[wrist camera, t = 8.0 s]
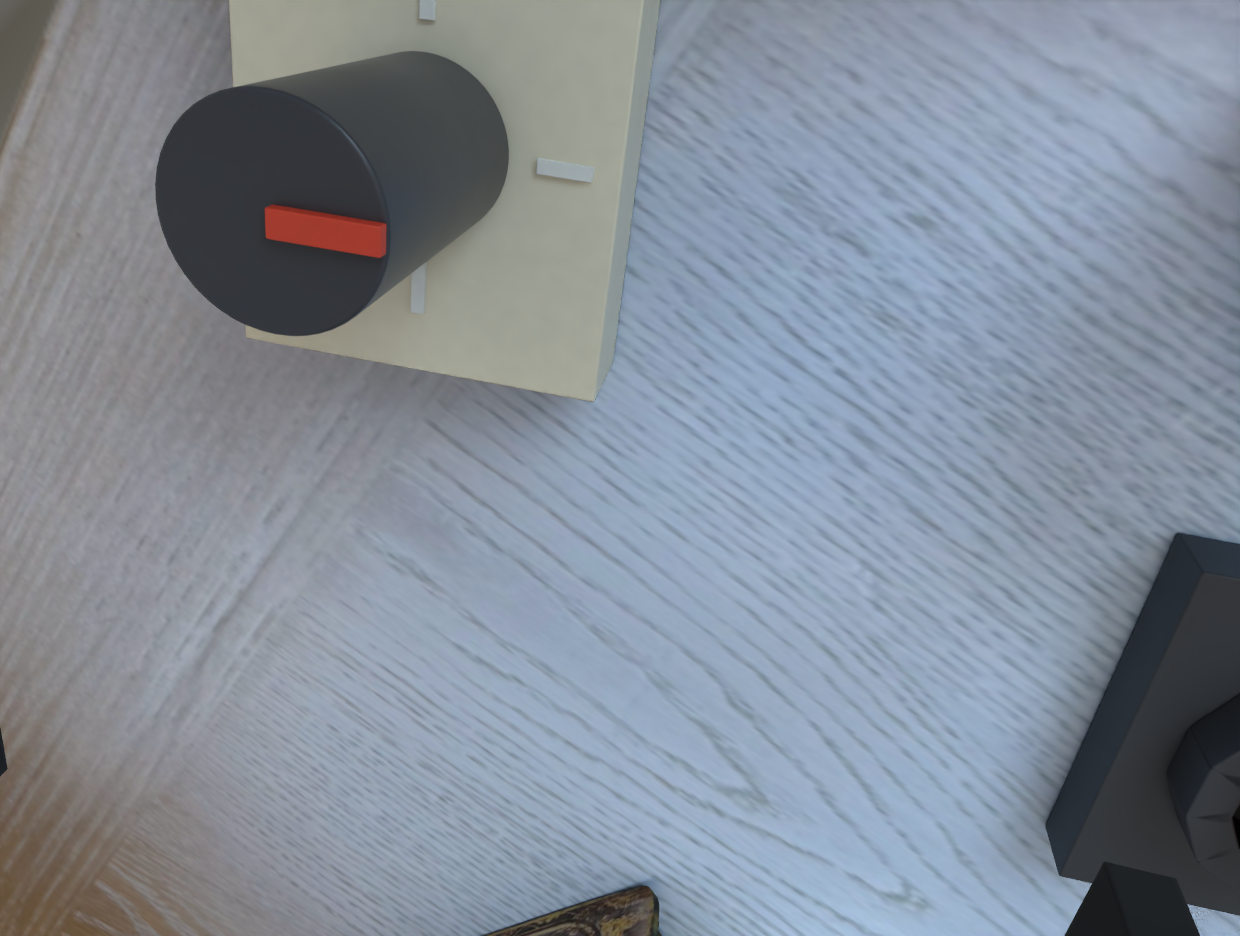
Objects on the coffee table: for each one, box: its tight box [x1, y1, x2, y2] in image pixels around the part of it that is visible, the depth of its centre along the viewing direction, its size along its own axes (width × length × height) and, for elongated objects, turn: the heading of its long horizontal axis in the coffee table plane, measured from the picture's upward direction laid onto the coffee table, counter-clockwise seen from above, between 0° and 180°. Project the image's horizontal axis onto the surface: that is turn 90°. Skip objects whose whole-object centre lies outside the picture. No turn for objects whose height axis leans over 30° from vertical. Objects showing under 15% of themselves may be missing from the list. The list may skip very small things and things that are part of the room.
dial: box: [155, 51, 509, 336], centre depth 21 cm, size 4×4×8 cm
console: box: [229, 0, 661, 402], centre depth 26 cm, size 12×10×3 cm
